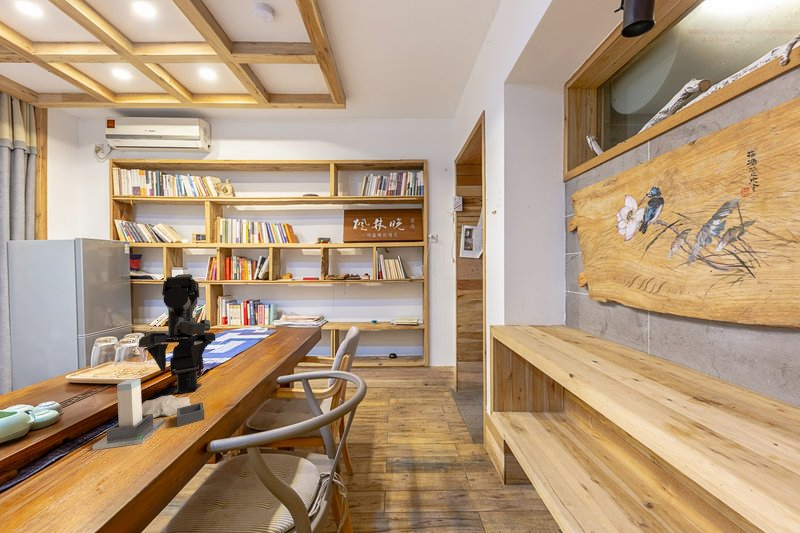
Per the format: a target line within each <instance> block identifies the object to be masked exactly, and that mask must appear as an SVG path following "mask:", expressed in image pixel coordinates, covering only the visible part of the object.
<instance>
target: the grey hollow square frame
mask: <svg viewBox="0 0 800 533" xmlns="http://www.w3.org/2000/svg"><path fill="white" fill-rule="evenodd" d="M203 420H205V409H204V402H197V403H194V404H191V405H189V406H185V407H181V408H177V414H176V422H177V423H176V426H177V427H181V426H185V425H188V424H192V423H197V422H199V421H203Z"/></svg>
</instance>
